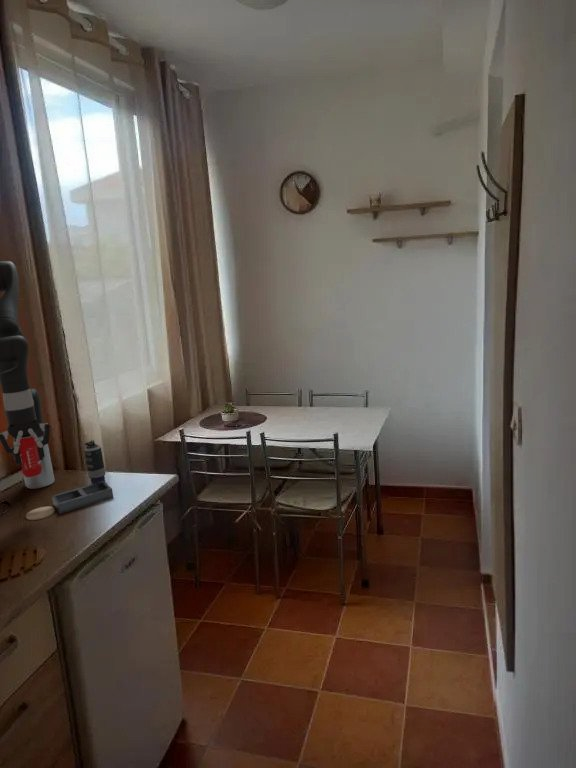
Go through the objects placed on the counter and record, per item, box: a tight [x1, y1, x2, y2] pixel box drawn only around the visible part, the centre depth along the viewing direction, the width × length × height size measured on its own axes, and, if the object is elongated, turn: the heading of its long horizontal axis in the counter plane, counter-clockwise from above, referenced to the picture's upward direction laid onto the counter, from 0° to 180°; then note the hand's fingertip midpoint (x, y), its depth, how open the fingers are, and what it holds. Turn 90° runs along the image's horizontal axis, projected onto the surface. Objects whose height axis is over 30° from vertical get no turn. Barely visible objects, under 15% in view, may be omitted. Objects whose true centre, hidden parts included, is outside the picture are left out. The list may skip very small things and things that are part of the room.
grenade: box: [79, 439, 106, 485], centre depth 182 cm, size 5×7×15 cm
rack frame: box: [51, 481, 114, 515], centre depth 168 cm, size 9×16×3 cm, turn 125°
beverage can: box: [18, 435, 42, 477], centre depth 158 cm, size 5×5×12 cm
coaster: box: [25, 506, 56, 521], centre depth 162 cm, size 8×8×1 cm
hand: (30, 461), depth 158 cm, fingers closed on beverage can, 5 cm apart
